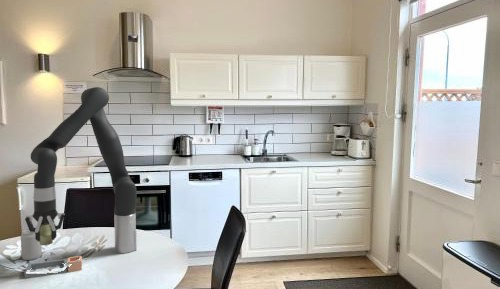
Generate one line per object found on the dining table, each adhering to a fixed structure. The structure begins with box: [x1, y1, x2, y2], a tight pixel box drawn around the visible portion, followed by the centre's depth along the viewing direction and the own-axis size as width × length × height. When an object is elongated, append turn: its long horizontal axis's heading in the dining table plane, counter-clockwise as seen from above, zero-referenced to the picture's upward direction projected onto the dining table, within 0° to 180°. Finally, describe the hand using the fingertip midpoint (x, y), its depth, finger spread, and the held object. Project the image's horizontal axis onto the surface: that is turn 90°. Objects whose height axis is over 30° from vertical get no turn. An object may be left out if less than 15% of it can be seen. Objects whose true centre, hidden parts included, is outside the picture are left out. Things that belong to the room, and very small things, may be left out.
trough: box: [24, 258, 68, 279], centre depth 142 cm, size 14×9×2 cm, turn 114°
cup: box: [67, 255, 83, 273], centre depth 144 cm, size 5×5×4 cm
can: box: [20, 228, 43, 261], centre depth 153 cm, size 8×8×12 cm
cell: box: [39, 223, 54, 246], centre depth 140 cm, size 4×4×9 cm
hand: (46, 239), depth 141 cm, fingers closed on cell, 4 cm apart
